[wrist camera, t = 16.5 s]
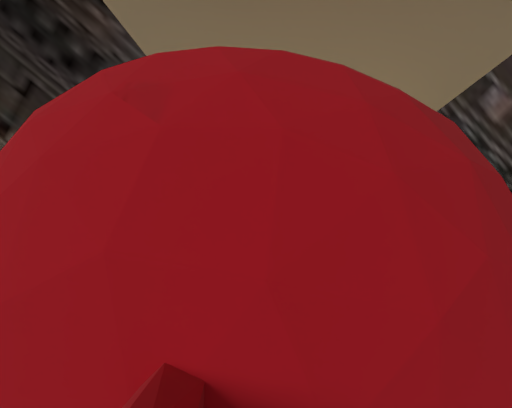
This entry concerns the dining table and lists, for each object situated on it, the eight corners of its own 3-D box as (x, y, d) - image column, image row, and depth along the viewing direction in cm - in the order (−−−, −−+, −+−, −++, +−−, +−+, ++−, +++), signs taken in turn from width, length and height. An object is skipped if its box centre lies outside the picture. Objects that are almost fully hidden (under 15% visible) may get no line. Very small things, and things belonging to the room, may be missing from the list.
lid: (-29, -107, 9) (-14, -171, 9) (166, 103, 24) (170, 78, 25) (738, -62, 7) (742, -143, 7) (428, 136, 22) (431, 108, 23)
